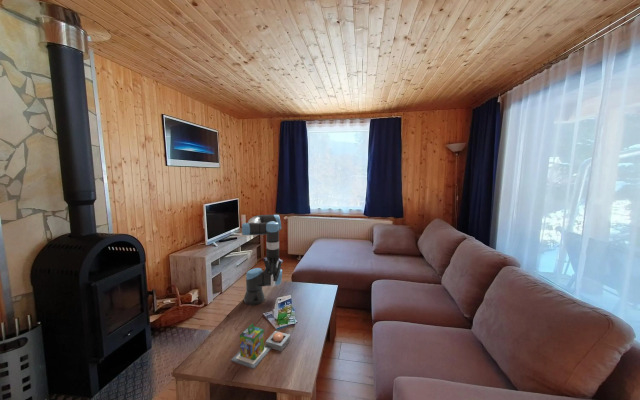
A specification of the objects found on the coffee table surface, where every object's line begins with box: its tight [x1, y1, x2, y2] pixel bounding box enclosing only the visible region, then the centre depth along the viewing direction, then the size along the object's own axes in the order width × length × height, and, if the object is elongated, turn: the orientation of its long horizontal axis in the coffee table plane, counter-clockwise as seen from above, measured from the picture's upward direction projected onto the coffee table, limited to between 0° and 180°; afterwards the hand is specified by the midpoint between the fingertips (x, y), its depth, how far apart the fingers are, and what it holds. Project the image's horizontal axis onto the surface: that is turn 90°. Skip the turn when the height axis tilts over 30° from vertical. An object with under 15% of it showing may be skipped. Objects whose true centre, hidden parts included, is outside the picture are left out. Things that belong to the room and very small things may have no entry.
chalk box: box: [239, 323, 265, 360], centre depth 127 cm, size 9×9×15 cm
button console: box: [265, 330, 291, 352], centre depth 136 cm, size 10×10×3 cm
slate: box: [230, 344, 272, 370], centre depth 127 cm, size 15×14×1 cm
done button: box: [273, 331, 283, 343], centre depth 136 cm, size 6×6×2 cm
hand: (273, 285), depth 148 cm, fingers closed
